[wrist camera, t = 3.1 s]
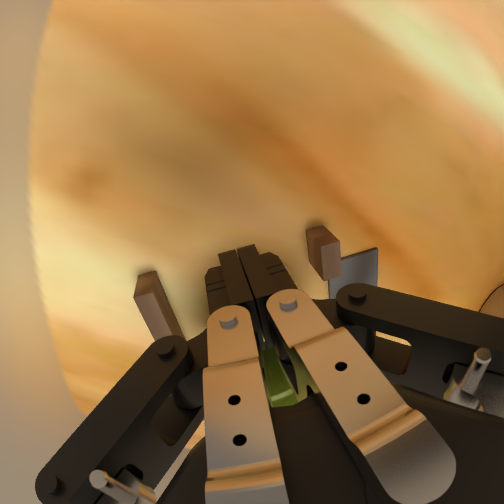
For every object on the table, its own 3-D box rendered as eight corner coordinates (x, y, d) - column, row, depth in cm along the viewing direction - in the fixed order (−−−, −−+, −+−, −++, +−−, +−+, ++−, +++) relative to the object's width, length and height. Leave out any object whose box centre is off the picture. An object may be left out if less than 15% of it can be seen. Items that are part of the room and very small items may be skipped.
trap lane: (376, 211, 24) (403, 229, 21) (365, 391, 37) (378, 412, 33) (84, 290, 22) (71, 320, 19) (187, 443, 35) (190, 467, 31)
